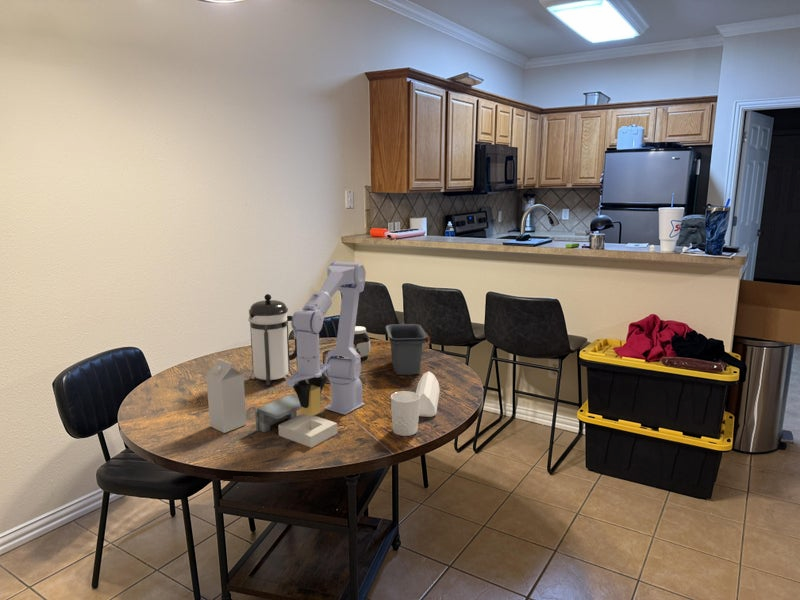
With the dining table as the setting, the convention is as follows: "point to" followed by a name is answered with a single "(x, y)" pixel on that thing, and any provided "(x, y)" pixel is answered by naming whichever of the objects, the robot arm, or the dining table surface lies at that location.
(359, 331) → the spread jar
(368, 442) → the dining table surface
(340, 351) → the robot arm
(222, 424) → the milk carton
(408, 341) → the storage bin
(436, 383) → the white pentagonal prism
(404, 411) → the white cup
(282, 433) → the socket
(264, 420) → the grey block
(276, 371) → the coffee press
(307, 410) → the peg
